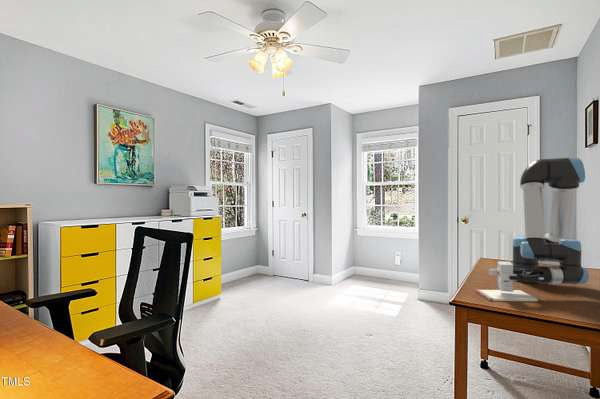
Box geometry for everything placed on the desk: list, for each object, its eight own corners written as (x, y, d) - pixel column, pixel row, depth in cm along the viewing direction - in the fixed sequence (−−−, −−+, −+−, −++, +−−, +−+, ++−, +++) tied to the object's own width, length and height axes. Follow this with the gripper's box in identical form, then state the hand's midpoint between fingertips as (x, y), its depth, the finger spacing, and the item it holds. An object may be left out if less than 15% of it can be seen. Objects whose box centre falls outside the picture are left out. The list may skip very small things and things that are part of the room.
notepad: (519, 292, 157) (520, 289, 157) (537, 301, 144) (537, 298, 144) (475, 291, 159) (475, 289, 159) (489, 300, 146) (489, 298, 146)
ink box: (497, 286, 156) (497, 260, 156) (509, 287, 154) (509, 261, 154) (500, 291, 148) (500, 264, 148) (513, 292, 147) (513, 265, 146)
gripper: (565, 290, 139) (508, 289, 141) (531, 277, 161) (483, 276, 163) (565, 272, 139) (508, 271, 141) (532, 261, 161) (483, 261, 162)
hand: (494, 274), depth 152 cm, fingers closed on ink box, 9 cm apart
